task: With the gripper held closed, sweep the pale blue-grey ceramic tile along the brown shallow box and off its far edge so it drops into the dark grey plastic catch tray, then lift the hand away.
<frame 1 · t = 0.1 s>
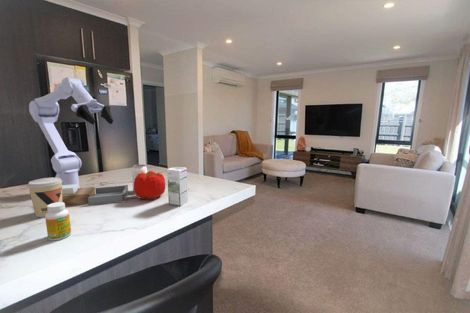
hand: (103, 122, 92), 32 cm above the kitchen island, tool tilted 50°, fingers open, 7 cm apart
supplement bottle: (60, 236, 67), on the kitchen island
coffee cup: (49, 213, 84), on the kitchen island
brown shallow box: (74, 201, 95), on the kitchen island
tomato: (150, 197, 101), on the kitchen island
syrup box: (178, 203, 94), on the kitchen island
can: (140, 191, 109), on the kitchen island
catch tray: (110, 197, 100), on the kitchen island
tile: (67, 192, 94), point 4 cm above the kitchen island, touching brown shallow box
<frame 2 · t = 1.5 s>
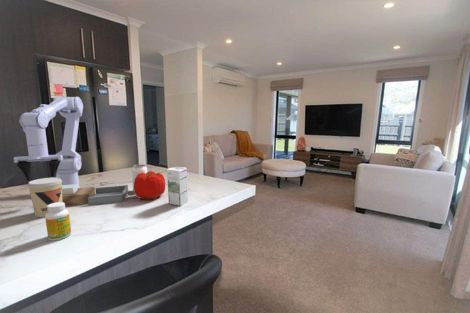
hand: (42, 179, 90), 10 cm above the kitchen island, tool pointing down, fingers open, 7 cm apart
nothing on the kitchen island moved.
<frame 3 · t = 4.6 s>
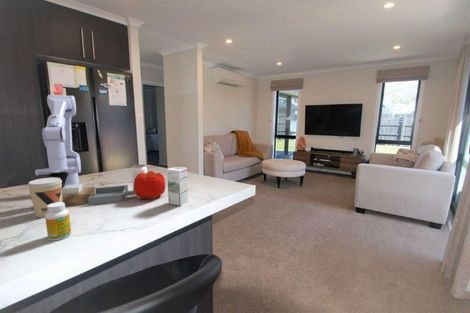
hand: (61, 191, 93), 5 cm above the kitchen island, tool pointing down, fingers closed
tile: (72, 191, 95), point 4 cm above the kitchen island
everything else where it was.
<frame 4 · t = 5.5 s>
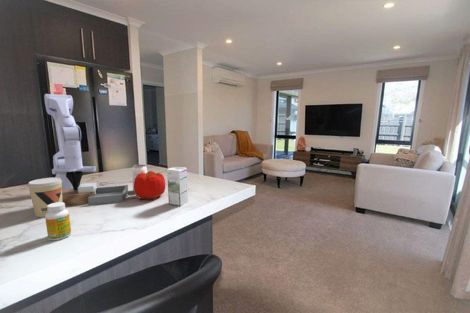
hand: (76, 189, 95), 5 cm above the kitchen island, tool pointing down, fingers closed
tile: (87, 190, 96), point 4 cm above the kitchen island, touching gripper
everything else where it was.
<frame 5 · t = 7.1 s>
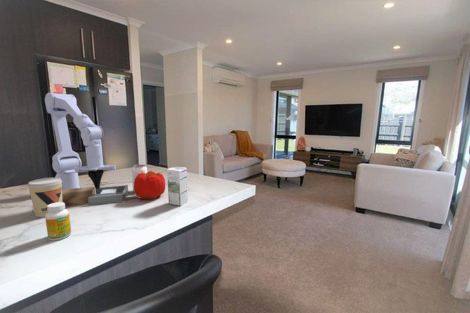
hand: (97, 187, 98), 5 cm above the kitchen island, tool pointing down, fingers closed
tile: (108, 191, 99), point 3 cm above the kitchen island, tilted 180°, touching catch tray
everything else where it was.
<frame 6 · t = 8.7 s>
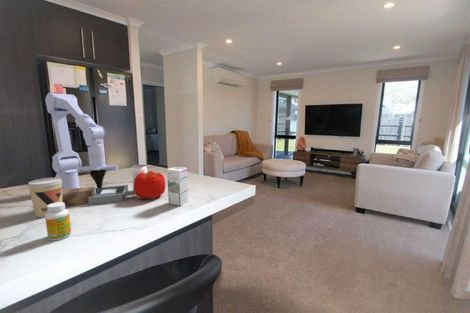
hand: (99, 187, 98), 5 cm above the kitchen island, tool pointing down, fingers closed
nothing on the kitchen island moved.
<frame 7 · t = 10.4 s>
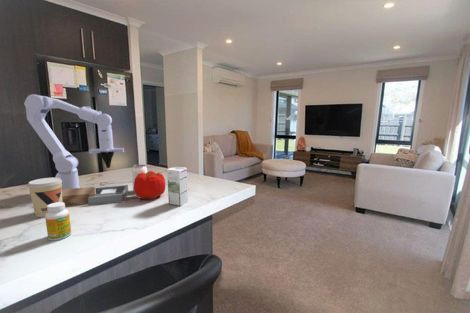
hand: (108, 167, 112), 10 cm above the kitchen island, tool pointing down, fingers closed
nothing on the kitchen island moved.
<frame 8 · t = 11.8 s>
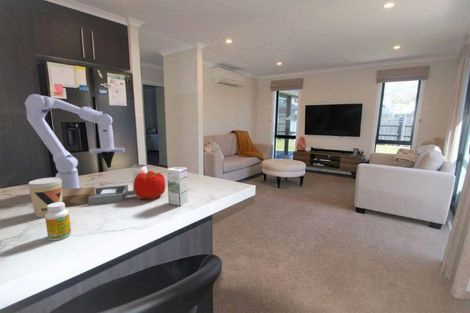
hand: (109, 167, 113), 10 cm above the kitchen island, tool pointing down, fingers closed
nothing on the kitchen island moved.
at the end: tile inside the target area on the catch tray (0.4 cm from its centre), point 2.9 cm above the catch tray's base; tile moved 14.7 cm from its start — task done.
